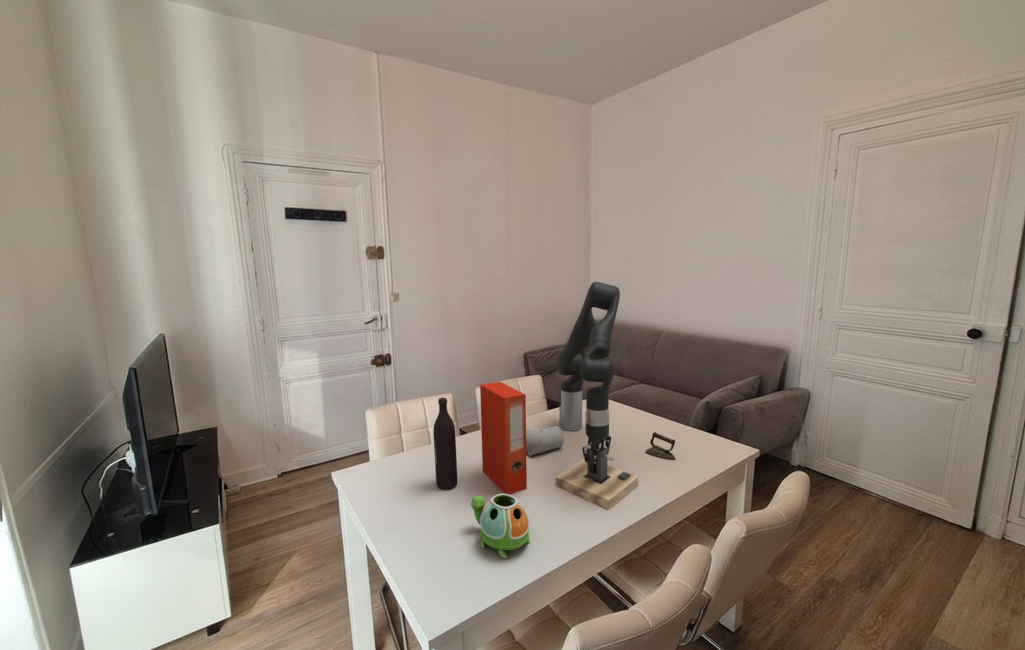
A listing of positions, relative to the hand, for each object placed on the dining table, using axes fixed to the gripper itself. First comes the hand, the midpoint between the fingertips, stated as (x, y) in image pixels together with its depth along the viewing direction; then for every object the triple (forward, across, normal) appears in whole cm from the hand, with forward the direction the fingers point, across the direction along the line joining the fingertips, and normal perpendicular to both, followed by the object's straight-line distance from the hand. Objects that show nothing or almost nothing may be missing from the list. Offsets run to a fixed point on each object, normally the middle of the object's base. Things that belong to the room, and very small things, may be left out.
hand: (597, 470), depth 134 cm
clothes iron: (+6, -34, +6) cm, 35 cm away
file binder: (+5, +18, -25) cm, 31 cm away
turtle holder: (+5, +40, -4) cm, 41 cm away
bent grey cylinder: (+6, -6, -34) cm, 35 cm away
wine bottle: (+5, +33, -37) cm, 50 cm away
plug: (+2, 0, +2) cm, 3 cm away
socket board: (+5, 0, 0) cm, 5 cm away
